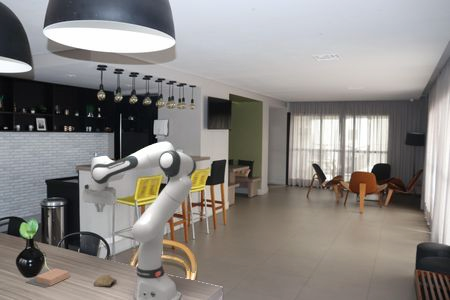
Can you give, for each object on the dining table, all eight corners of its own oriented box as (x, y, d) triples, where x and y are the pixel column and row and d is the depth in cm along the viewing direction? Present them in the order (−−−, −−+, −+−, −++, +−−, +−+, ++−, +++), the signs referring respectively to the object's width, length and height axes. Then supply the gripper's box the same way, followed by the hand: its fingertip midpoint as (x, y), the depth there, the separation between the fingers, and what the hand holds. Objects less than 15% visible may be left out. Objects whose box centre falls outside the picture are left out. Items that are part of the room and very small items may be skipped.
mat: (70, 276, 193) (70, 275, 193) (45, 287, 178) (45, 287, 178) (51, 271, 198) (51, 271, 198) (25, 282, 184) (25, 282, 184)
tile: (69, 271, 190) (55, 268, 194) (50, 279, 179) (36, 276, 183) (69, 277, 191) (55, 274, 195) (50, 286, 180) (36, 282, 184)
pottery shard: (92, 288, 181) (107, 287, 177) (91, 279, 182) (106, 278, 178) (107, 281, 191) (122, 280, 187) (106, 273, 191) (121, 272, 188)
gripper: (119, 186, 189) (119, 212, 190) (89, 183, 197) (89, 208, 198) (111, 188, 183) (111, 215, 184) (80, 185, 191) (80, 211, 192)
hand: (99, 211), depth 191 cm, fingers closed
